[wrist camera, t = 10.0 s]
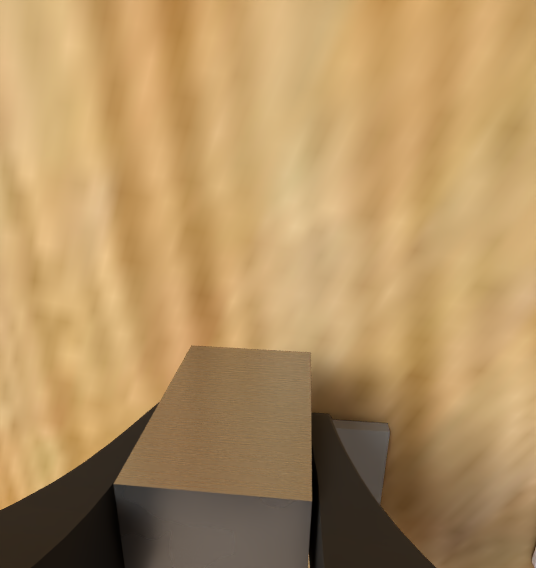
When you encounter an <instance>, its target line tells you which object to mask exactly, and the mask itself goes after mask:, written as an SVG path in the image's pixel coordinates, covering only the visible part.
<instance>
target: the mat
mask: <svg viewBox="0 0 536 568" xmlns="http://www.w3.org/2000/svg"><path fill="white" fill-rule="evenodd" d="M333 423H334V426H335V428H336V431H337V433H338V435H339V437H340V440H341V442H342V444H343V446H344V448H345V450H346V452H347V454H348V455H349V457H350V459H351V461H352V463H353V464H354V466H355V468H356V470H357V471H358V473H359V475H360V476H361V478H362V479H363V481H364V483H365V484H366V486H367V487H368V489H369V490H370V492H371V493H372V495H373V496H374V497H375V499H376V500H377V502H378V503H379V504H380V502H381V495H382V488H383V480H384V473H385V465H386V458H387V451H388V443H389V436H390V430H389V426H388V423H374V422H360V421H345V420H333Z"/></svg>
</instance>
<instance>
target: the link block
mask: <svg viewBox="0 0 536 568" xmlns="http://www.w3.org/2000/svg"><path fill="white" fill-rule="evenodd" d="M114 491H115V499H116V506H117V513H118V521H119V528H120V536H121V543H122V550H123V558H124V565H125V568H308V554H309V539H310V524H311V508H312V447H311V353H310V352H292V351H275V350H258V349H241V348H224V347H206V346H191V347H190V349H189V351H188V353H187V354H186V356H185V358H184V360H183V362H182V363H181V365H180V367H179V369H178V370H177V372H176V374H175V376H174V378H173V379H172V381H171V383H170V385H169V386H168V388H167V390H166V392H165V394H164V395H163V397H162V399H161V401H160V402H159V404H158V406H157V408H156V409H155V411H154V413H153V415H152V417H151V418H150V420H149V422H148V424H147V425H146V427H145V429H144V431H143V433H142V434H141V436H140V438H139V440H138V441H137V443H136V445H135V447H134V449H133V450H132V452H131V454H130V456H129V457H128V459H127V461H126V463H125V464H124V466H123V468H122V470H121V472H120V473H119V475H118V477H117V479H116V480H115V482H114Z"/></svg>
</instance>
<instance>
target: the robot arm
mask: <svg viewBox="0 0 536 568" xmlns="http://www.w3.org/2000/svg"><path fill="white" fill-rule="evenodd" d="M158 404H159V403H158ZM158 404H157V405H155V406H154V407H153V408H152V409H151V410H149V411H148V412H147V413H146V414H145V415H143V416H142V417H141V418H140V419H139V420H138V421H136V422H135V423H134V424H133V425H132V426H131V427H129V428H128V429H127V430H126V431H124V432H123V433H122V434H121V435H120V436H118V437H117V438H116V439H115V440H113V441H112V442H111V443H110V444H108V445H107V446H106V447H104V448H103V449H101V450H100V451H99V452H97V453H96V454H95V455H93V456H92V457H91V458H89V459H88V460H87V461H85V462H84V463H82V464H81V465H79V466H78V467H76V468H75V469H73V470H72V471H70V472H69V473H67V474H66V475H64V476H62V477H61V478H59V479H58V480H56V481H54V482H53V483H51V484H49V485H48V486H46V487H44V488H42V489H40V490H38V491H37V492H35V493H33V494H31V495H29V496H27V497H26V498H24V499H22V500H20V501H18V502H16V503H14V504H12V505H10V506H8V507H6V508H4V509H2V510H0V568H125V565H124V558H123V550H122V543H121V536H120V528H119V521H118V513H117V506H116V499H115V491H114V482H115V480H116V479H117V477H118V475H119V473H120V472H121V470H122V468H123V466H124V464H125V463H126V461H127V459H128V457H129V456H130V454H131V452H132V450H133V449H134V447H135V445H136V443H137V441H138V440H139V438H140V436H141V434H142V433H143V431H144V429H145V427H146V425H147V424H148V422H149V420H150V418H151V417H152V415H153V413H154V411H155V409H156V408H157V406H158ZM311 447H312V508H311V524H310V539H309V561H310V568H436V567H435V566H434V565H433V564H432V563H431V562H430V561H429V560H428V559H427V558H425V556H424V555H423V554H422V553H421V552H420V551H419V550H418V549H417V548H416V547H415V546H414V545H413V544H412V542H411V541H410V540H409V539H408V538H407V537H406V536H405V535H404V534H403V533H402V532H401V531H400V529H399V528H398V527H397V526H396V525H395V523H394V522H393V521H392V520H391V518H390V517H389V516H388V515H387V514H386V512H385V511H384V510H383V508H382V507H381V506H380V504H379V503H378V502H377V500H376V499H375V497H374V496H373V495H372V493H371V492H370V490H369V489H368V487H367V486H366V484H365V483H364V481H363V479H362V478H361V476H360V475H359V473H358V471H357V470H356V468H355V466H354V464H353V463H352V461H351V459H350V457H349V455H348V454H347V452H346V450H345V448H344V446H343V444H342V442H341V440H340V437H339V435H338V433H337V431H336V428H335V426H334V423H333V420H332V417H331V416H330V415H329V414H324V413H311ZM532 563H533V565H534V567H535V568H536V548H535V551H534V554H533V558H532Z"/></svg>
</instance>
